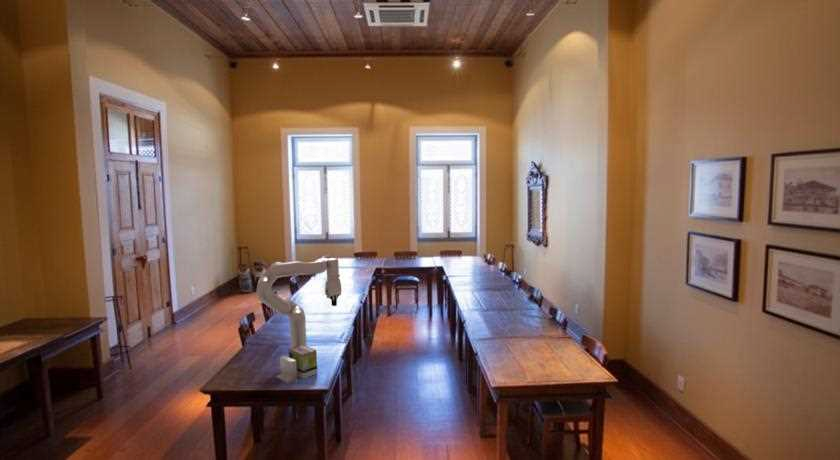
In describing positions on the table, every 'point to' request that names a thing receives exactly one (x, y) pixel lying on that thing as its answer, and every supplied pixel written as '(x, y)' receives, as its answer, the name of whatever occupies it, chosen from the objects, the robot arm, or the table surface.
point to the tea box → (304, 360)
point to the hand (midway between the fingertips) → (334, 305)
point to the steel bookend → (287, 370)
